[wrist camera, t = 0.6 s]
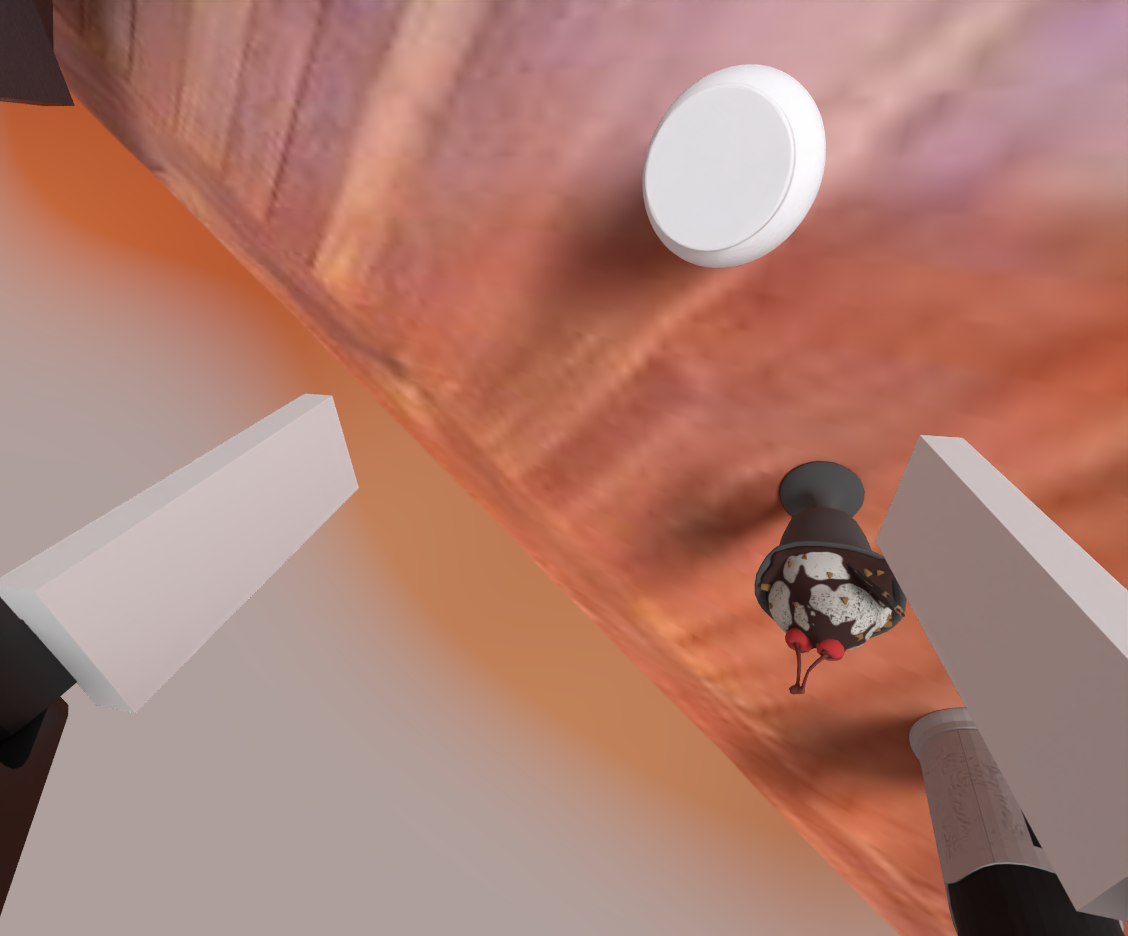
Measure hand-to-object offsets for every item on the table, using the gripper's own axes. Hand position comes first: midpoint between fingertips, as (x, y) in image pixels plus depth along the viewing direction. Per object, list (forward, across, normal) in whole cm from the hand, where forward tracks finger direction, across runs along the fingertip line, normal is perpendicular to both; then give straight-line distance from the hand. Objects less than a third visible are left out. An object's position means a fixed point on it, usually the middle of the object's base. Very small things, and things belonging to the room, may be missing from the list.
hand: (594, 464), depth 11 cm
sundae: (+20, +13, -13) cm, 27 cm away
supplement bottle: (+22, +5, +5) cm, 23 cm away
